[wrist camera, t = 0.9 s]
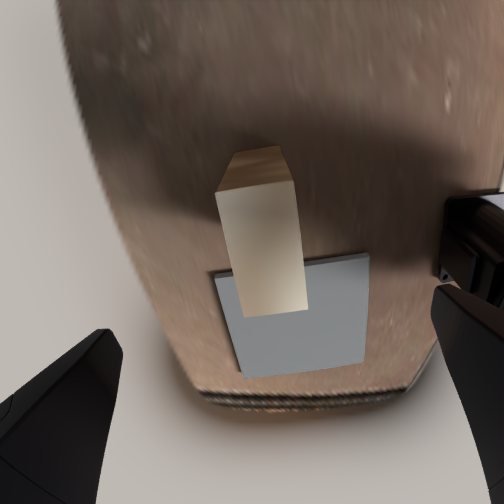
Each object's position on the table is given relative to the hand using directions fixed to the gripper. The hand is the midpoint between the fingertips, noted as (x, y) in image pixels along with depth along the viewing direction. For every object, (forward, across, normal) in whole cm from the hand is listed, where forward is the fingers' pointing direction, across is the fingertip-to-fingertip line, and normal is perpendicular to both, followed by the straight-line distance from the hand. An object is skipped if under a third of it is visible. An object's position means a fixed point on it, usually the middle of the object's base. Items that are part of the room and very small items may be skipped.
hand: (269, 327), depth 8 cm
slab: (+12, 0, 0) cm, 12 cm away
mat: (+12, -1, +10) cm, 15 cm away
